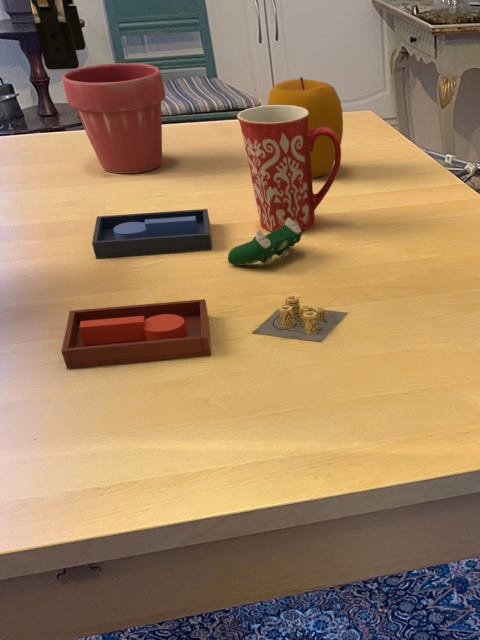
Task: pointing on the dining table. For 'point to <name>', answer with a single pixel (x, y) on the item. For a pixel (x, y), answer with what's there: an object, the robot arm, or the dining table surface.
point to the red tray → (143, 349)
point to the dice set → (300, 321)
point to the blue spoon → (157, 228)
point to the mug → (284, 163)
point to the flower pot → (120, 113)
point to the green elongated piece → (266, 245)
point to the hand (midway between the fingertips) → (67, 58)
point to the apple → (314, 115)
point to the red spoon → (132, 329)
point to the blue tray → (111, 247)
